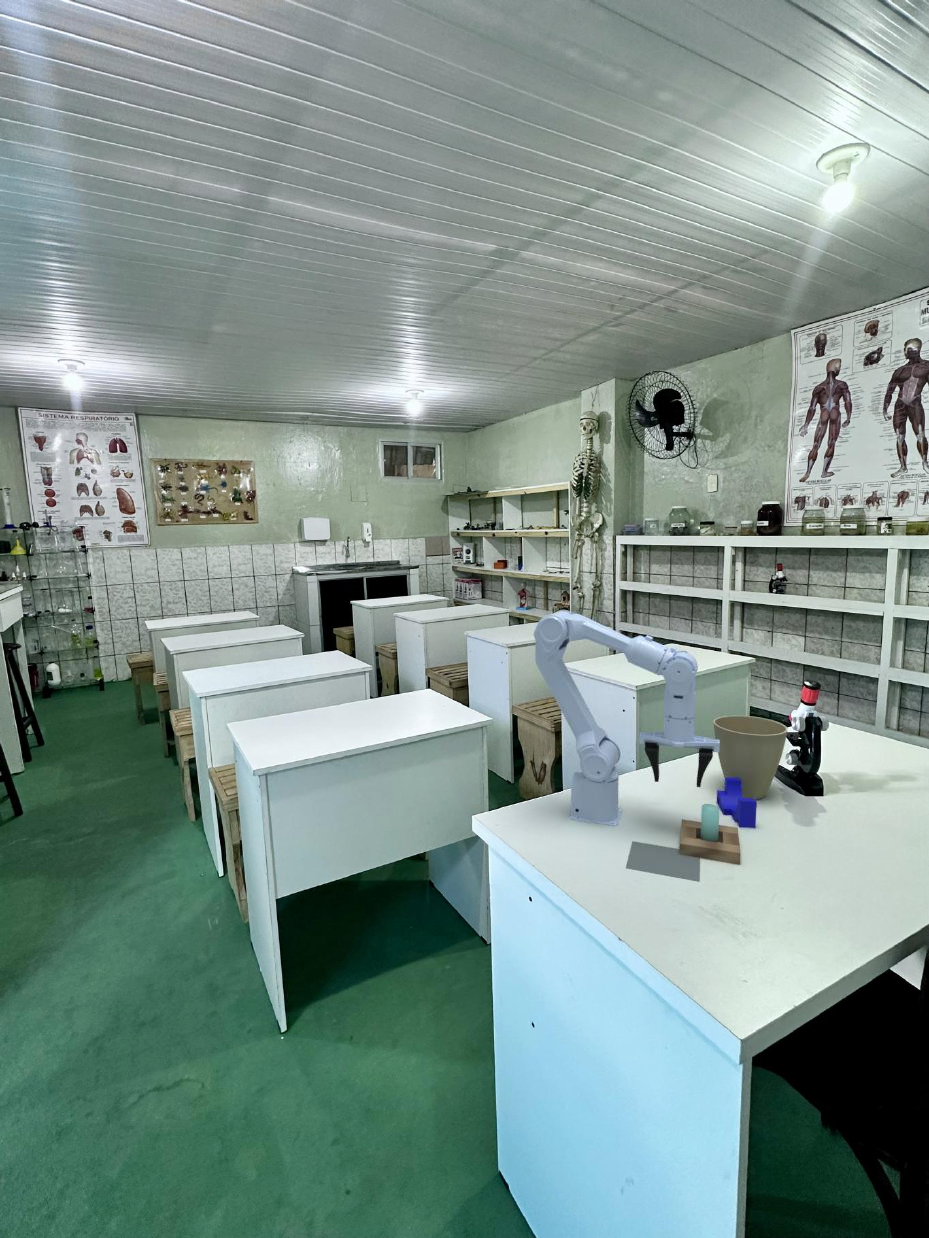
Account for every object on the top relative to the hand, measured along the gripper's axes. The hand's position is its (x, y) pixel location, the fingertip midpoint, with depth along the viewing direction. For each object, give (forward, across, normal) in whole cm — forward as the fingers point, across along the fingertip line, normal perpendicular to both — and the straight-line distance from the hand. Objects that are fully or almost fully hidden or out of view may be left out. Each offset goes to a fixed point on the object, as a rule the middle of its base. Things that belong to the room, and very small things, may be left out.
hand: (677, 782), depth 116 cm
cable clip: (+10, +11, +11) cm, 19 cm away
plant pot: (+10, +14, +24) cm, 30 cm away
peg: (+10, +6, -5) cm, 13 cm away
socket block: (+10, +6, -5) cm, 13 cm away
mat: (+10, -2, -13) cm, 16 cm away
